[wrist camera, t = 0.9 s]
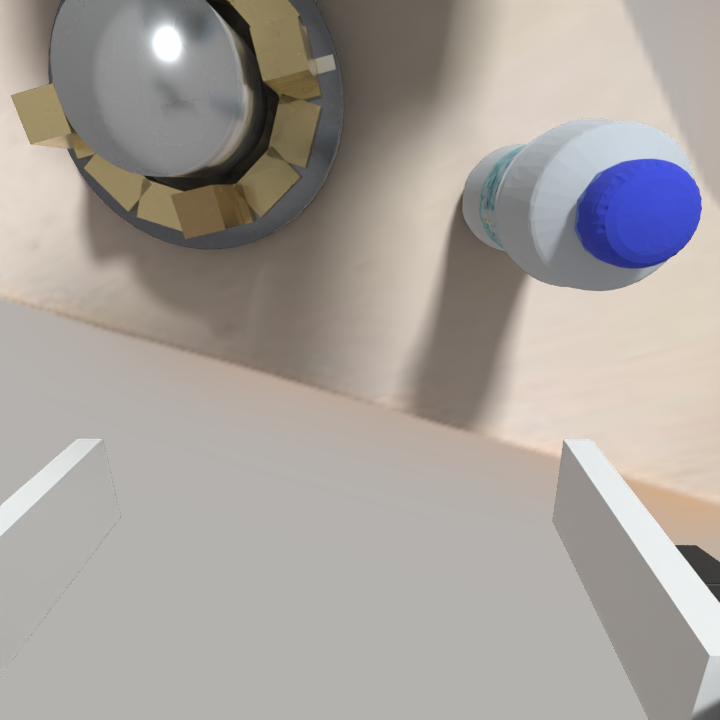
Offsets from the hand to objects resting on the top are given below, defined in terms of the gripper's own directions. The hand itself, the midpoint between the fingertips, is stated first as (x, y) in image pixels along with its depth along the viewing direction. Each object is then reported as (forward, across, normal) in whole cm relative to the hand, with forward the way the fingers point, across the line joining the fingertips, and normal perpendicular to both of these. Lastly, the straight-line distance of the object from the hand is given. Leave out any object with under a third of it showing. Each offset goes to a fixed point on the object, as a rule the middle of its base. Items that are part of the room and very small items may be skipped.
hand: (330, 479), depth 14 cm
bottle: (+24, +10, +6) cm, 26 cm away
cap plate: (+24, -10, +13) cm, 29 cm away
